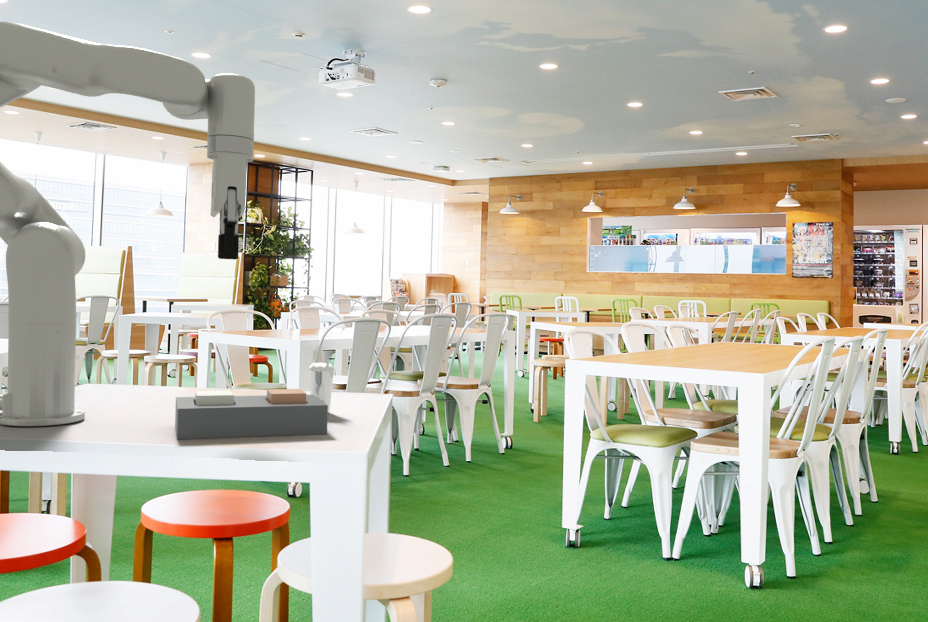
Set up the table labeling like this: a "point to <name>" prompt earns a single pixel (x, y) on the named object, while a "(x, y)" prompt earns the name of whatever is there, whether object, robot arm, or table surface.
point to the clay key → (286, 396)
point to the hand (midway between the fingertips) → (228, 258)
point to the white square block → (214, 397)
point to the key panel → (249, 418)
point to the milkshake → (321, 381)
